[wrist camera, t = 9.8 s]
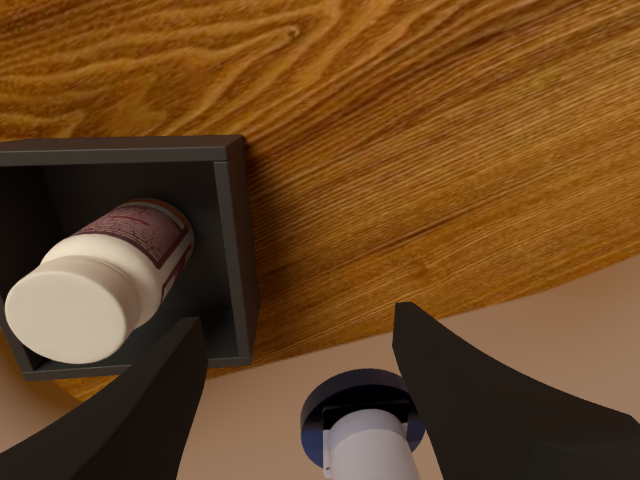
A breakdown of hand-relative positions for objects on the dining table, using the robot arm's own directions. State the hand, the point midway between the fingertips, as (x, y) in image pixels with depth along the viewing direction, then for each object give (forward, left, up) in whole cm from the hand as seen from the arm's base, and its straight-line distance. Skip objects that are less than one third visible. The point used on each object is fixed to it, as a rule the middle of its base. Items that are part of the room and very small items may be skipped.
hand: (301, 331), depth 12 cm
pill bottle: (+1, +8, -9) cm, 12 cm away
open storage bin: (+1, +8, -9) cm, 12 cm away
